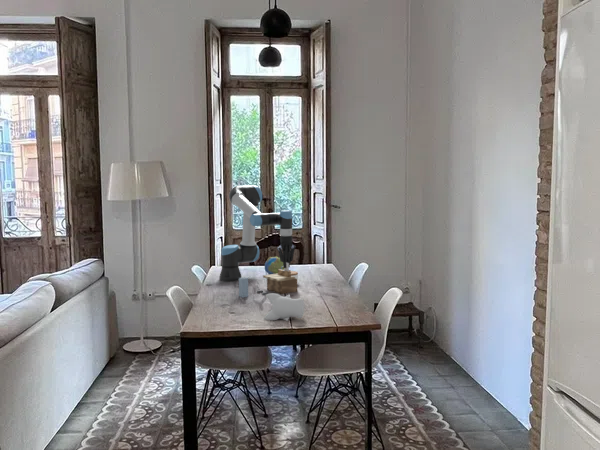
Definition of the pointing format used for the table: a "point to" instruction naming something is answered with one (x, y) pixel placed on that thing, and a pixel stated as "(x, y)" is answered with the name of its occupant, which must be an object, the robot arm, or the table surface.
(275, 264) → the globe
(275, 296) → the fox head
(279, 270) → the lid
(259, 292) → the pair of grey bars
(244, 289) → the blue-grey block
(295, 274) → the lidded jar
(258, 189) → the robot arm
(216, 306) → the table surface
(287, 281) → the toolbox
